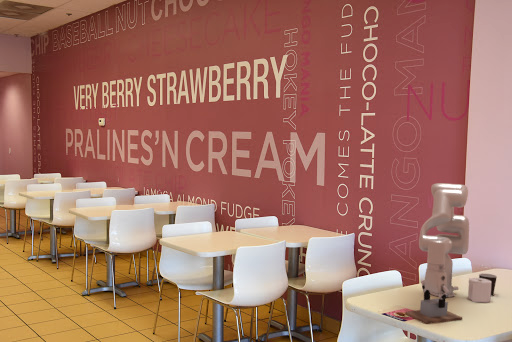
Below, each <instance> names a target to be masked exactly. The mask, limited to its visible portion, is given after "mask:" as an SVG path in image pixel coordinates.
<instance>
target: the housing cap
mask: <svg viewBox="0 0 512 342" xmlns="http://www.w3.org/2000/svg"><path fill="white" fill-rule="evenodd" d="M439 299H440V298H430V299H429V300H424V299H421V300H420V305H419V306H420V309H419V310H420V314H423V315H425V316H427V317H438V316H447V311H448V305H449V304H448V303H449V302H448V301H446V300H445V308H439V307H438V305H439Z"/></svg>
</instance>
